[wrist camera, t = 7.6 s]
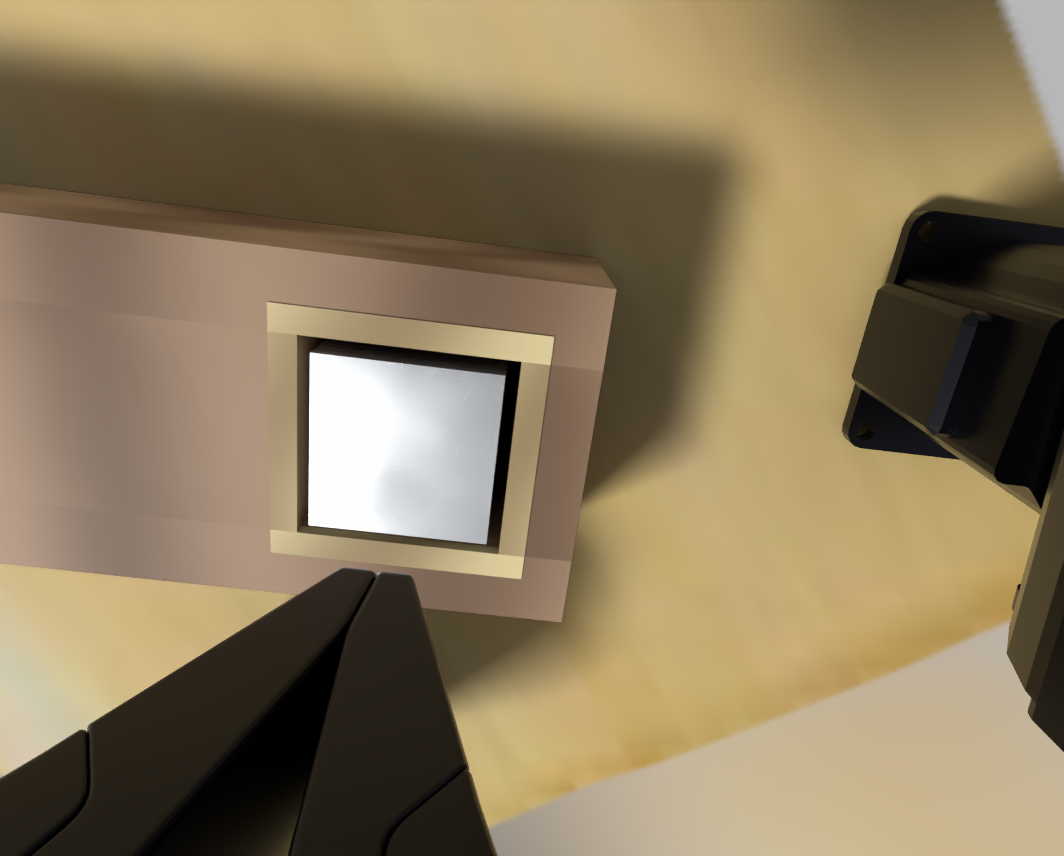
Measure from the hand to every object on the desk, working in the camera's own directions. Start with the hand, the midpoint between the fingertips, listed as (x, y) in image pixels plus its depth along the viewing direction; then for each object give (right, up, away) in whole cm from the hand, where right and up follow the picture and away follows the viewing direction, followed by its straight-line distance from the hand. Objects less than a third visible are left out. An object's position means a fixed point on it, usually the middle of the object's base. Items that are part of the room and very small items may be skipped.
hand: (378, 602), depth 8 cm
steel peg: (-1, +3, +11) cm, 12 cm away
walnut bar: (-7, +4, +11) cm, 14 cm away
